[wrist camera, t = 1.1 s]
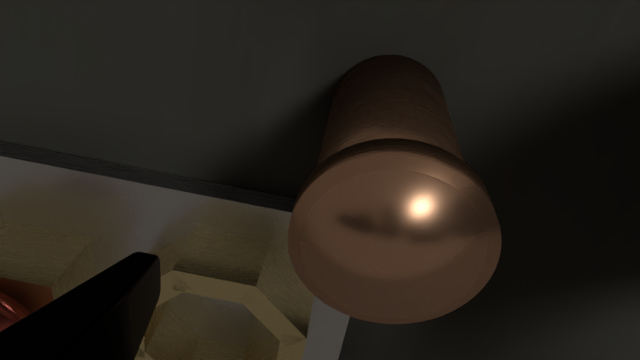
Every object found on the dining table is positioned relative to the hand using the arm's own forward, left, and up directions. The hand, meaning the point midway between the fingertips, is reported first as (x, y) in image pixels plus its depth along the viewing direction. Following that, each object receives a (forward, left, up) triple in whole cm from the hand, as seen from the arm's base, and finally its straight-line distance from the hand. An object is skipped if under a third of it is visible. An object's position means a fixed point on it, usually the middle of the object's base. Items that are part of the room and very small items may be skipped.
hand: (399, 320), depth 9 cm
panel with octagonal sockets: (+8, +10, -10) cm, 16 cm away
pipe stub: (0, 0, -10) cm, 10 cm away
